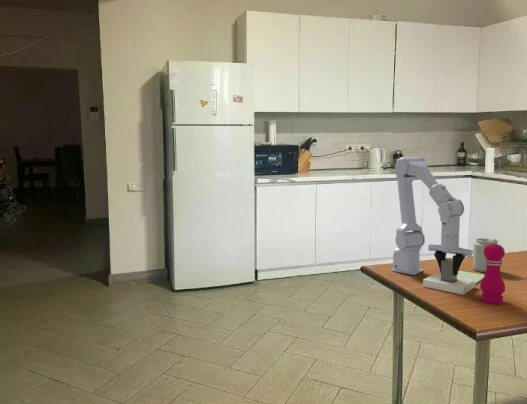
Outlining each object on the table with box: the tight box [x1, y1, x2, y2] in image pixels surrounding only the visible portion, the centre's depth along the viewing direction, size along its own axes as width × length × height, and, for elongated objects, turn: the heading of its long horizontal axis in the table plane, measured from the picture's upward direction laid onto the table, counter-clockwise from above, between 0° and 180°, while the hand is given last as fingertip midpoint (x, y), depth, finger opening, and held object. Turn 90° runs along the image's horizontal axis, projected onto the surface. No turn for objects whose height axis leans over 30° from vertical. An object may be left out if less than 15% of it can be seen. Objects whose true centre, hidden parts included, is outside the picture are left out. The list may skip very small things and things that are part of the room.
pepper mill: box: [479, 238, 506, 305], centre depth 155 cm, size 7×7×20 cm
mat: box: [457, 270, 485, 285], centre depth 181 cm, size 12×12×1 cm
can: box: [472, 237, 493, 273], centre depth 189 cm, size 8×8×12 cm
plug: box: [440, 257, 457, 283], centre depth 170 cm, size 4×4×8 cm
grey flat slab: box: [422, 272, 476, 296], centre depth 171 cm, size 14×10×2 cm
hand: (448, 273), depth 170 cm, fingers closed on plug, 4 cm apart
